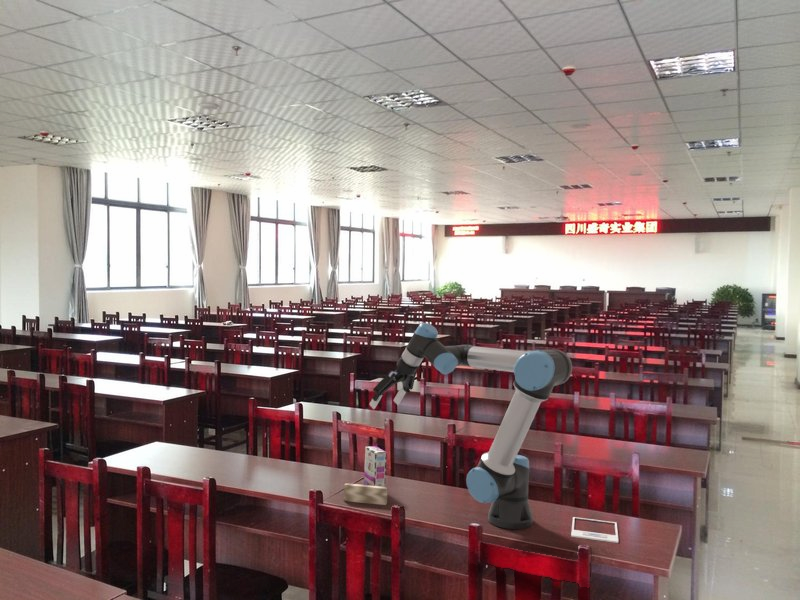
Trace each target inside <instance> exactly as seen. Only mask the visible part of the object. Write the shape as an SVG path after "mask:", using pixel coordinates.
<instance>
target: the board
mask: <svg viewBox="0 0 800 600" xmlns="http://www.w3.org/2000/svg"><path fill="white" fill-rule="evenodd" d="M343 502H351V503H362V504H370V505H381V506H387V504H388V486H385V487H381V486H370V485H364V484H358V483H348V482H346V483H344V484H343Z"/></svg>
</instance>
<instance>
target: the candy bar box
mask: <svg viewBox="0 0 800 600" xmlns="http://www.w3.org/2000/svg"><path fill="white" fill-rule="evenodd" d="M364 447H365V448H364V449H365V450H364V469H363V470H364V471H363V476H364V477H363V485H370V486H381V487H386V479H387V451H385V450H383V449H381V448H380V447H378V446H377V445H370V446H364Z"/></svg>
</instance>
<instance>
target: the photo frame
mask: <svg viewBox="0 0 800 600" xmlns="http://www.w3.org/2000/svg"><path fill="white" fill-rule="evenodd" d="M575 519H576V520H585V521H593V522H599V523H607V524H614V531H615V534H609V533H600V532H593V531H585V530H579V529H575ZM570 537H571V538H577V539H585V540H586V539H587V540H591V541H592V540H593V541H601V542H607V543H608V542H609V543H614V544H615V543H616V544H619V532H618V524H617V521H607V520H599V519H592V518H584V517H576V516H572V524H571V533H570Z"/></svg>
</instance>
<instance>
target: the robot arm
mask: <svg viewBox="0 0 800 600" xmlns="http://www.w3.org/2000/svg"><path fill="white" fill-rule="evenodd" d="M438 335H439V331H438V329H437V328H436V327H435V326H433V325H432V324H430V323H426V322H421V323H420V324H419V325H418V326H417V328H416V330H414V332H413V335H412V337H411V339H410V340H409V342H408V344H407V345H406V347H405V349H404V351H402V354H401V356H400V357H399V359H398V361H397V362H396V369H395V370H394V371H393V370H392V369H390V370H389V371H388V373H387V374H386V375H385V376H384V377H383V378H382V379H381V381H379V382H378V383H377V385H375V387H373V389H372V391H373V392H374V395H373V397H372V398H371V401H369V404H368V405H369V407H371V409H372V410H375V409H376V407H377V406H378V404H379V402H380V401H381V399H382V397H383V394H384V393H385V392H386V391H388V390H389V389H390V388H391V387H393V386H394V385H397V384H399V383H401V384H402V387H400V388H399V389H398V392H397V393H396V395H395V397H394V398H393V402H394V404H396V405H397V406H399V405H400V403H401V402H402V400H403V398H404V397H405V395H406V394H407V393H408V394H409V393H410V392H411V391H412V390H413V388H414V385H415V380H416V376H417V373H418V372H417V370H418V369H419V366H420V365H421V363H422V361H423V360H424V358H425V359H426V360H427V361H428V362H429V363H430V364H431V365H432V366H433V367H434V368H435V370H437V371H439V372H440V373H441V374H442V375H449V374H450V373H452V372H454V370H455V369H456V368H457V367H467V368H469V367H471V368H477V369H478V368H479V369H487V370H493V371H494V370H495V371H502V372H508V373H509V372H510V373H513V375H514V381H513V386H514V389H515V391H514V393H513V396H512V398H511V400H510V403H509V405H508V408H507V409H506V412H505V414H504V417H503V418H502V421H501V423H500V425H499V428H498V430H497V432H496V435H495V437H494V440H492V441H493V442H492V443H491V445H490V448H489V451H487V452H484V453H482V455H481V457H480V459H479V461H478V464H477V466H476V467H473V468H472V469H470V470H469V471H468V473H467V474H466V479H465V481H466V482H465V483H466V487H467V489H468V493H469V494H470V495H471V497H472V498H473V499H474V500H475V501H477V502H478V503H481V504H490V503H491V505H490V508H489V510H488V514H487V520H488V522H489V523H490V524H491V525H493V526H496V527H498V528H502V529H508V530H523V529H528V528H530V527H532V525H533V519H534V518H533V513H532V511H531V510H532V509H531V507H530V504H529V484H530V483H529V481H530V480H529V479H530V460H529V458H528V457H526V456H524V455H520V454H519V452H520V449H521V447H522V445H523V443H524V441H525V439H526V437H527V434H528V432H529V431H530V427H531V426H532V423H533V421H534V419H535V417H536V414H537V412H538V410H539V407H540V405H541V403H542V402H546V401H548V400H549V398H550V395H551V393H552V392H553V389H554V387H555V386H559V385H562V384H565V383H566V382H567V381H568V380H569V378H570V377H571V375H572V372H573V365H572V363H573V362H572V360H571V359H570V357H569V356H568V354H567V353H565V352H564V351H562V350H560V349H557V348H556V349H555V348H554V349H553V348H551V349H536V350H531V351H528V350H527V351H525V350H515V349H503V348H495V347H494V348H493V347H487V346H486V347H485V346H476V345H475V346H473V345H472V344H460V345H447V346H446V345H444V344H442V342H440V340H438V339H437V337H438Z"/></svg>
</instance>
